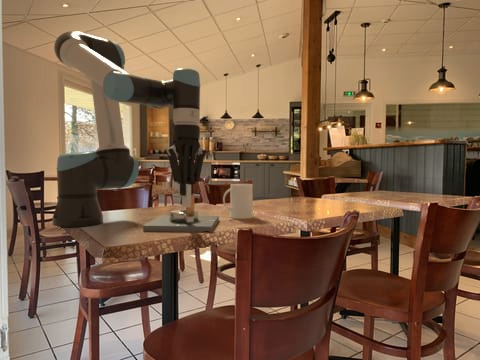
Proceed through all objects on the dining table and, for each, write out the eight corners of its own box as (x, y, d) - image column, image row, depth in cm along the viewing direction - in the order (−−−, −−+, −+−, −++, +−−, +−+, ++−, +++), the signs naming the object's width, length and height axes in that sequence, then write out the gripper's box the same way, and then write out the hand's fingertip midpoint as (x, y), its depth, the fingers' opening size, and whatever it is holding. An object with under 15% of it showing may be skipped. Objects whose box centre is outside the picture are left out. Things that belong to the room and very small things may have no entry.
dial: (167, 217, 119) (167, 193, 119) (194, 216, 122) (194, 192, 122) (175, 225, 106) (175, 198, 105) (206, 223, 109) (206, 197, 108)
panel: (143, 231, 107) (143, 225, 107) (161, 219, 127) (161, 214, 127) (211, 232, 106) (211, 226, 106) (218, 220, 126) (218, 215, 126)
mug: (227, 220, 126) (227, 185, 126) (217, 216, 134) (217, 184, 133) (257, 218, 132) (257, 184, 131) (246, 214, 139) (246, 183, 139)
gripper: (174, 122, 98) (174, 209, 99) (212, 125, 107) (212, 206, 108) (160, 124, 104) (160, 207, 105) (197, 127, 112) (197, 204, 113)
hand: (186, 206), depth 106 cm, fingers closed
